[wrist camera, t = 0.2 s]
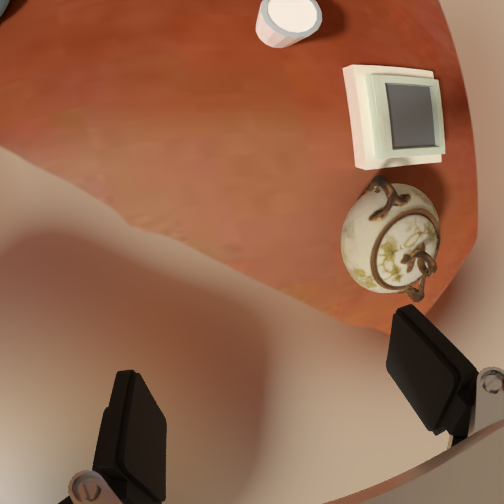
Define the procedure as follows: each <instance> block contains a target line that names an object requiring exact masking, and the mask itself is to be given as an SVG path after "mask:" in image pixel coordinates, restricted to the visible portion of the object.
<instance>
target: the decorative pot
mask: <svg viewBox="0 0 504 504" xmlns="http://www.w3.org/2000/svg"><path fill="white" fill-rule="evenodd" d="M9 1H10V0H0V17H1V15H2V14H3V12H4V11H5V9H6V7H7V5H8V3H9Z"/></svg>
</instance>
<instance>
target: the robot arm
mask: <svg viewBox="0 0 504 504" xmlns="http://www.w3.org/2000/svg"><path fill="white" fill-rule="evenodd" d="M386 367H387V371H388V373H389V374H390V375H391V377H392V378H393V380H394V381H395V382H396V384H397V386H398V387H399V388H400V390H401V391H402V393H403V394H404V396H405V397H406V399H407V400H408V402H409V403H410V404H411V406H412V407H413V409H414V410H415V412H416V413H417V415H418V416H419V418H420V419H421V421H422V422H423V424H424V425H425V427H426V428H427V429H428V430H429V431H433V433H434V434H435V435H436V436H437V435H438V434H440V433H442V432H444V431H445V430H447V431H448V433H449V434H450V436H449V442H448V447H447V450H446V451H444V452H442V453H441V454H439V455H437V456H435V457H434V458H432V459H430V460H428V461H426V462H424V463H422V464H420V465H418V466H416V467H414V468H412V469H410V470H408V471H406V472H404V473H402V474H400V475H398V476H396V477H393V478H391V479H389V480H387V481H384V482H382V483H380V484H377V485H375V486H372V487H370V488H367V489H365V490H362V491H359V492H357V493H354V494H351V495H348V496H346V497H343V498H340V499H337V500H334V501H330V502H327V503H324V504H504V370H502V369H500V368H497V367H487V368H484V369H483V370H482V371H480V373H479V372H478V371H477V370H476V368H475V367H474V366H473V364H472V363H471V362H470V361H469V360H468V359H467V358H466V357H465V356H464V355H463V354H462V353H461V352H460V351H459V350H458V349H457V348H456V347H455V346H454V345H453V344H452V343H451V342H450V341H449V340H448V339H447V338H446V337H445V336H444V335H443V334H442V333H441V332H440V331H439V330H438V329H437V328H436V327H435V326H434V325H433V324H432V323H431V322H430V321H429V320H428V319H427V318H426V317H425V316H424V315H423V314H422V313H421V312H420V311H419V310H418V309H417V308H416V307H415V306H413V305H412V304H409V305H406V306H404V307H401V308H398V309H397V310H396V313H395V314H394V315H393V320H392V328H391V335H390V343H389V349H388V356H387V361H386ZM166 433H167V424H166V419H165V417H164V415H163V413H162V412H161V410H160V408H159V407H158V405H157V404H156V401H155V400H154V398H153V396H152V395H151V393H150V391H149V389H148V387H147V386H146V384H145V382H144V380H143V378H142V376H141V375H140V374H139V373H135V371H134V370H125V371H118V372H117V374H116V378H115V382H114V386H113V390H112V394H111V398H110V402H109V407H107V408H106V409H105V411H104V413H103V418H102V422H101V427H100V431H99V436H98V441H97V446H96V451H95V456H94V462H93V468H92V471H91V470H84V471H80V472H78V473H77V474H75V475H74V476H73V477H72V479H71V480H70V482H69V485H68V493H69V496H68V497H67V498H65V499H64V500H63V501H61V502H60V503H58V504H162V502H163V501H165V499H166Z"/></svg>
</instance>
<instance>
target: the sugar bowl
mask: <svg viewBox="0 0 504 504" xmlns="http://www.w3.org/2000/svg"><path fill="white" fill-rule="evenodd" d="M378 185H380V186H379V187H377V186H378ZM439 245H440V222H439V218H438V214H437V212H436V209H435V207H434V206H433V204H432V202H431V201H430V199H429V198H428V197H427V196H426V195H425V194H424V193H423V192H421V191H420V190H418V189H417V188H415V187H412V186H410V185H406V184H399V183H396V184H391V183H390V182H389V181H388V180H387V179H386V178H385V177H383V176H377V177H375V178H373V180H372V181H371V184H370V186H369V187H368V188H367V189H366V190H365V194H364V195H363V196H361V197H360V198H359V199H358V200H357V201H356V202H355V204H354V205H353V206H352V208H351V209H350V210H349V212H348V214H347V216H346V218H345V221H344V224H343V227H342V233H341V253H342V257H343V261H344V264H345V266H346V268H347V270H348V272H349V274H350V275H351V276H352V278H353V279H354V280H355V281H356V282H357V283H358V284H359V285H361V286H362V287H364V288H366V289H368V290H370V291H373V292H378V293H391V292H396V293H407V294H408V295H409V297H410V298H411V299H412V300H413V301H414V302H420V301H421V300H422V299H423V298H424V296H425V295H424V283H425V278H426V276H432V275H433V274H434V273H435V272H436V270H437V266H436V262H435V259H436V256H437V253H438V250H439ZM419 280H420V281H419ZM418 281H419V289H418V290H417V289H416V288H413V287H412V285H413V284H415V283H417V282H418Z"/></svg>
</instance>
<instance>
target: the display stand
mask: <svg viewBox="0 0 504 504" xmlns="http://www.w3.org/2000/svg"><path fill="white" fill-rule="evenodd" d="M343 74H344V80H345V86H346V92H347V99H348V106H349V113H350V121H351V129H352V137H353V147H354V157H355V167H357V168H360V169H364V170H371V169H379V168H387V167H396V166H405V165H415V164H425V163H436V162H441V154H445V139H444V125H443V113H442V104H441V96H440V88H439V81H438V80H435V79H434V76H433V71H427V70H420V69H411V68H401V67H390V66H374V65H350V66H347V67H345V68H343Z"/></svg>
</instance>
